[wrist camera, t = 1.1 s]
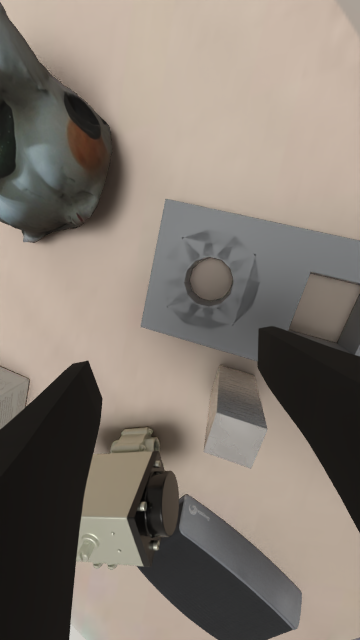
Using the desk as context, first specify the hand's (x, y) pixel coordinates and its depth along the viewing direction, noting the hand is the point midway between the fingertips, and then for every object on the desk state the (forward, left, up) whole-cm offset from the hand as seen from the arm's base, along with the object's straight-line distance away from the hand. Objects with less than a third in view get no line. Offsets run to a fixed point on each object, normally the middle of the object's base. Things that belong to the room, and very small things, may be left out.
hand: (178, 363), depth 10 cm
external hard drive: (-10, +33, -14) cm, 37 cm away
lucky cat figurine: (+18, -9, -14) cm, 25 cm away
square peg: (-5, +7, -14) cm, 16 cm away
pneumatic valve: (+3, +18, -14) cm, 23 cm away
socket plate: (-5, -3, -14) cm, 15 cm away
